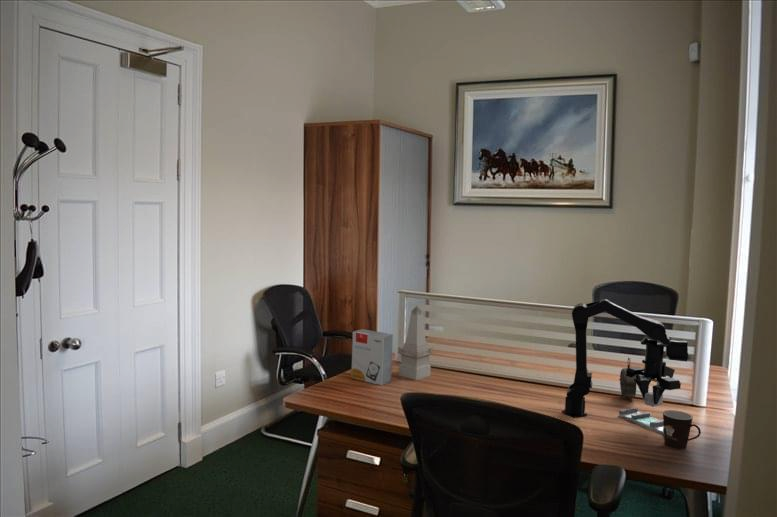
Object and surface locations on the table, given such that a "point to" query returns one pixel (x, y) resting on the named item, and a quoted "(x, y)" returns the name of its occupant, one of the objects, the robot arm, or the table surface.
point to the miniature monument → (415, 349)
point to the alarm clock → (627, 384)
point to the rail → (642, 419)
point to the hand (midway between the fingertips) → (650, 402)
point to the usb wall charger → (650, 400)
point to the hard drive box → (371, 356)
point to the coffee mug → (677, 429)
